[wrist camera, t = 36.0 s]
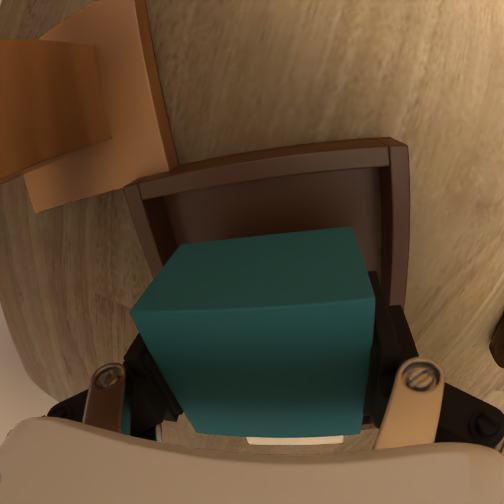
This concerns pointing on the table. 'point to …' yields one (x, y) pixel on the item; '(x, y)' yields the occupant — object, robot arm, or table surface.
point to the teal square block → (264, 333)
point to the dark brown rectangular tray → (285, 202)
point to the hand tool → (498, 345)
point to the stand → (83, 106)
